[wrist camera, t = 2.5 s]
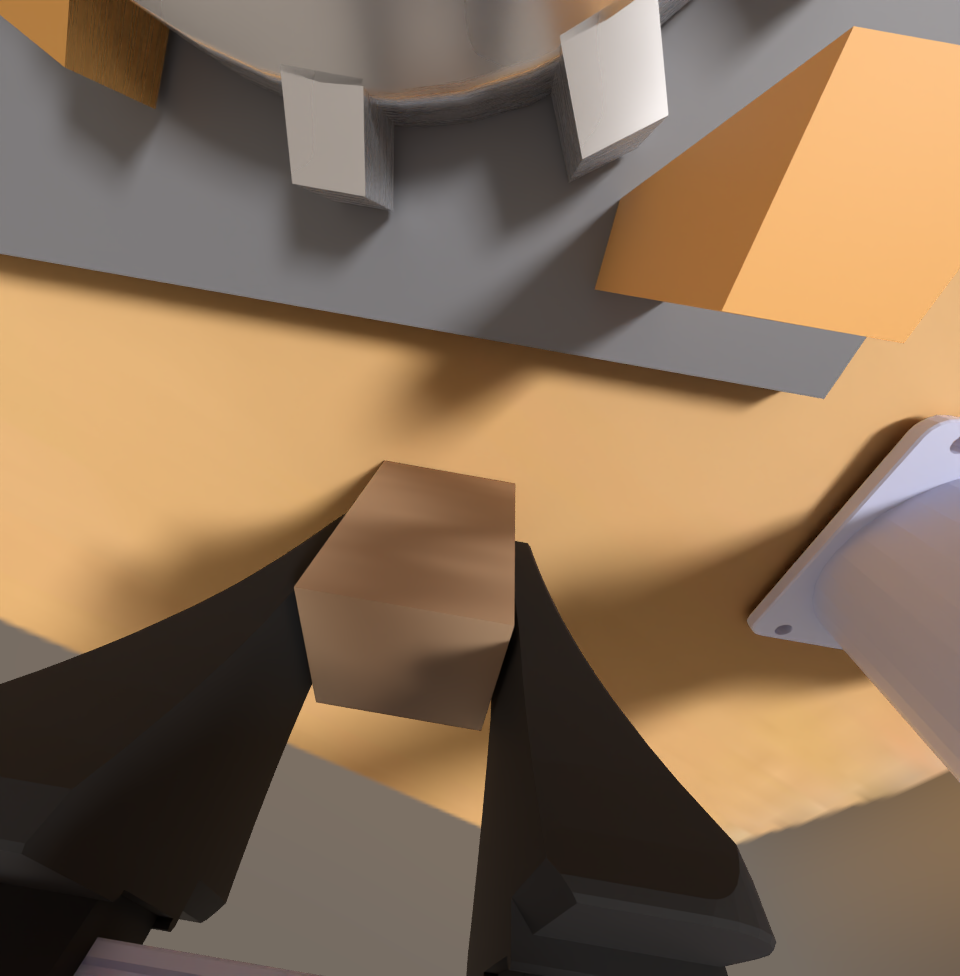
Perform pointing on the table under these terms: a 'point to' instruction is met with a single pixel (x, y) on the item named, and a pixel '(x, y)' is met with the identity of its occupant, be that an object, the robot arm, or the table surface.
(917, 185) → the base plate
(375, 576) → the link block
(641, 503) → the table surface
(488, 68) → the sprocket
